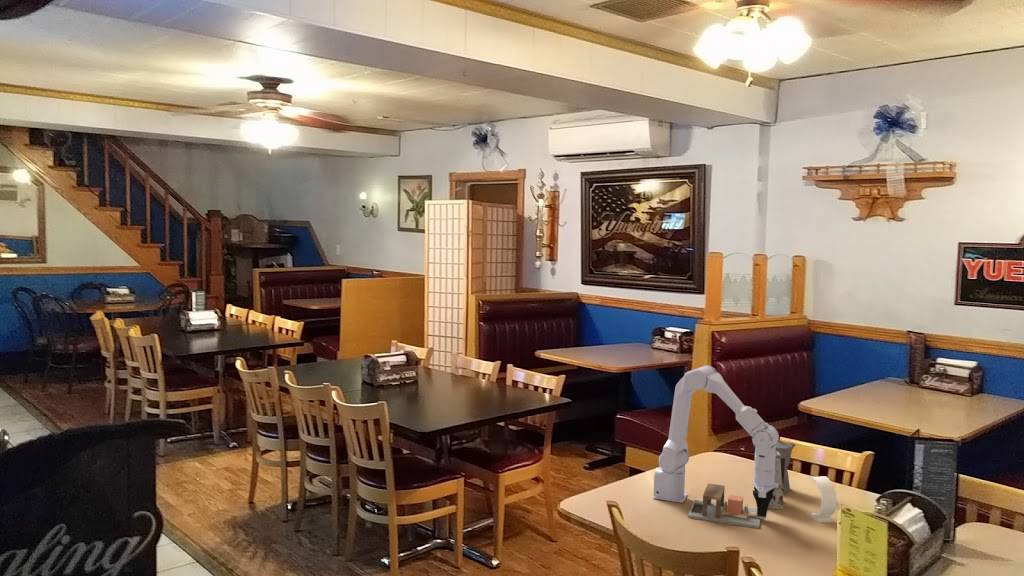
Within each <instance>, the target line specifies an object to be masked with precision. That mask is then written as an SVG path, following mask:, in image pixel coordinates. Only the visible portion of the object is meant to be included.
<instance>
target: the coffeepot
mask: <svg viewBox="0 0 1024 576" xmlns="http://www.w3.org/2000/svg"><path fill="white" fill-rule="evenodd" d="M775 445H776V450H781V452H782V454H783V455H784V457H785V471H784V489H783V494H788V493H789V492H790V491H791V485H790V478H789V477H790V476H789V472H788V467H789V464H790V460H791V455H792V452H793V449H794V448H795V447H796V446H797V444H796V443H794V442H788V441H783V440H781V435H779V440H778V442H777V443H776V444H775ZM773 446H774V445H773ZM752 453H753V456H754V458H755V445H753V447H752Z"/></svg>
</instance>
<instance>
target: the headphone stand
mask: <svg viewBox="0 0 1024 576" xmlns="http://www.w3.org/2000/svg"><path fill="white" fill-rule="evenodd" d="M811 481H813V483H815V485H816V486H817V488H818V491H819V494H820V498H821V502H820V509H819V510H818V512H813V513H812V512H811V513H809V517H810V518H812V519H813V520H814V521H817V522H818V523H820V524H821V523H833V522H835V519H834V518H833V517H832V516H833V515H834V514H835V512H836V510H837V505H838V496H837V492H836V489H835V487H834V486H835V485H834V484H833V483H832V481H831V480H830V478H829V477H828V476H826V475H825V476H824V475H823V476H822V475H820V476H812V477H811Z"/></svg>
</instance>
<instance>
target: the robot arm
mask: <svg viewBox="0 0 1024 576" xmlns="http://www.w3.org/2000/svg"><path fill="white" fill-rule="evenodd" d="M704 388H705V389H704ZM702 389H704V390H703V392H705V393H711V394H716V395H717V396H718V397H719V398H720V399H721V400H722V401H723V402H724V403H725V404H726V406H728V407H729V408H730V409H731V410H732V411H733V412H734V414H735V420H736V421H737V422H738V423H739V424H740V425H741V427H742V428H743V429H744V430H745V431H746V432H747V434H749V436H751V440H752V441H751V442H752V444H753V446H755V457H754V465H753V468H754V469H753V470H754V471H753V481H752V485H753V490H752V495H753V497H754V500H755V502H756V509H757V510H758V515H760V516H766V514H768V510H769V508H768V506H769V503H770V501H771V499H772V497H773V494H772V493H773V492H774V488H778V484H776V483H774V477H775V456H776V454H775V451H776V445H775V444H776V443H777V442H778V440H779V436H780V435H779V431H778V430H777V428H776V427H774V426H773V425H770V424H769V423H768V422H766V421H764V420H763V418H762V417H761V416H760V415H759V414H758V410H757V409H756V408H752V406H748V405H744V403H743V402H742V401H741V399H740V398H739V397H738V396H737V395H736V394H735V393H734V392H733V390H732V389H731V388H730V387H729V385H728V384H727V382H726V381H725V380H724V378H723V376H722V375H721V374H720V372H717V370H716V368H714V367H713V366H711V365H702V366H700V367H698V368H694V369H691V370H689V371H687V372H685V373H684V375H683V377H681V378H680V379H679V381H678V382H677V383H676V384H675V388H674V395H673V403H672V409H671V417H670V425H669V431H668V439H667V441H666V442H665V444H664V445H663V447H662V452H661V453H660V455H659V457H658V464H659V467H655V470H654V476H653V496H652V498H653V499H655V500H662V501H669V502H675V503H680V504H681V503H685V499H686V498H687V496H688V493H687V492H685V487H686V485H685V484H686V464H688V462H689V459H690V455H689V450H688V448H689V445H688V443H687V441H686V440H687V439H686V438H687V434H688V427H689V426H688V425H689V417H690V411H691V405H692V398H693V394H694V393H695V392H697V391H701V390H702ZM773 445H774V446H773ZM766 517H767V516H766Z"/></svg>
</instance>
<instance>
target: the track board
mask: <svg viewBox="0 0 1024 576" xmlns="http://www.w3.org/2000/svg"><path fill="white" fill-rule="evenodd" d="M727 506H728V504H727ZM744 508H745V506H743V509H744ZM748 509H749V511H748V512H755V513H757V508H752V507H748ZM722 510H723V507H722V506H721V511H720V518H716V502H712V501H711V505H709V504H707V516H702V511H703V500H698V499H694V500H693V503H692V504H691V507H690V509H689V512H688V514H687V518H689V519H690V518H691V519H696V520H703V521H708V522H714V523H715V522H716V523H723V524H728V525H735V526H741V527H748V528H753V529H760V525H761V524H760V523H761V520H762V519H761V518H755V517H748V516H747V519H746V518H739V517H733V516H726V515H721V513H722Z"/></svg>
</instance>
